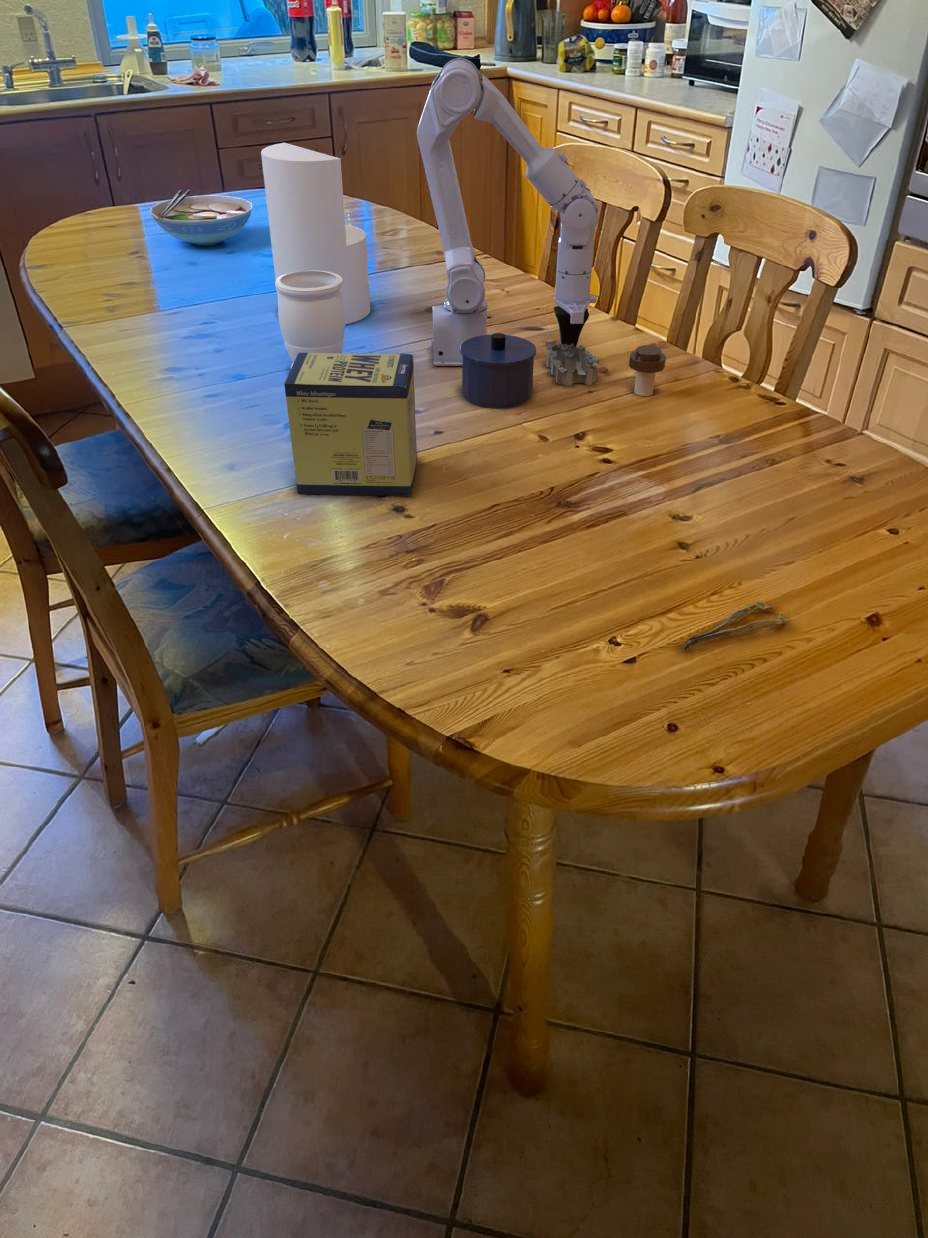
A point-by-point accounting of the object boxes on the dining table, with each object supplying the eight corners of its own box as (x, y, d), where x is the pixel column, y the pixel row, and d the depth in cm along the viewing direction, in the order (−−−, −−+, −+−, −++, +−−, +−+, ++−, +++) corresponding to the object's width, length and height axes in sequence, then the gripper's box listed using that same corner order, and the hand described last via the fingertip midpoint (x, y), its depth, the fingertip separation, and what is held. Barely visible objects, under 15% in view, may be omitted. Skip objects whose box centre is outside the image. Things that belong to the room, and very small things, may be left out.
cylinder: (312, 333, 172) (297, 165, 155) (262, 308, 182) (242, 148, 165) (388, 312, 181) (381, 151, 164) (336, 289, 191) (324, 136, 174)
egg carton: (599, 386, 154) (602, 361, 151) (553, 387, 153) (555, 363, 151) (586, 360, 162) (588, 336, 160) (543, 361, 162) (544, 338, 159)
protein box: (307, 457, 133) (296, 350, 124) (418, 459, 133) (415, 352, 124) (294, 495, 125) (281, 383, 116) (412, 497, 125) (409, 385, 115)
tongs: (674, 644, 100) (677, 629, 99) (760, 610, 106) (764, 595, 105) (702, 666, 97) (706, 651, 96) (789, 629, 103) (793, 614, 102)
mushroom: (629, 399, 150) (634, 356, 145) (623, 385, 154) (627, 343, 150) (664, 399, 150) (670, 356, 146) (657, 385, 154) (663, 343, 150)
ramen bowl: (245, 257, 208) (240, 218, 203) (141, 257, 208) (134, 217, 203) (266, 226, 228) (262, 190, 223) (171, 226, 228) (164, 189, 223)
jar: (358, 363, 161) (352, 273, 152) (332, 386, 153) (324, 293, 144) (302, 355, 164) (293, 266, 155) (273, 377, 156) (262, 285, 147)
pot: (463, 408, 147) (463, 365, 142) (461, 380, 155) (461, 338, 151) (534, 407, 147) (536, 364, 143) (528, 379, 156) (530, 337, 152)
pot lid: (461, 370, 142) (461, 350, 141) (458, 341, 152) (458, 321, 150) (539, 369, 143) (540, 349, 141) (532, 340, 152) (533, 321, 150)
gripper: (605, 283, 148) (598, 367, 156) (592, 256, 160) (585, 335, 168) (560, 284, 148) (555, 367, 156) (550, 256, 159) (546, 335, 168)
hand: (568, 350), depth 162 cm, fingers closed
